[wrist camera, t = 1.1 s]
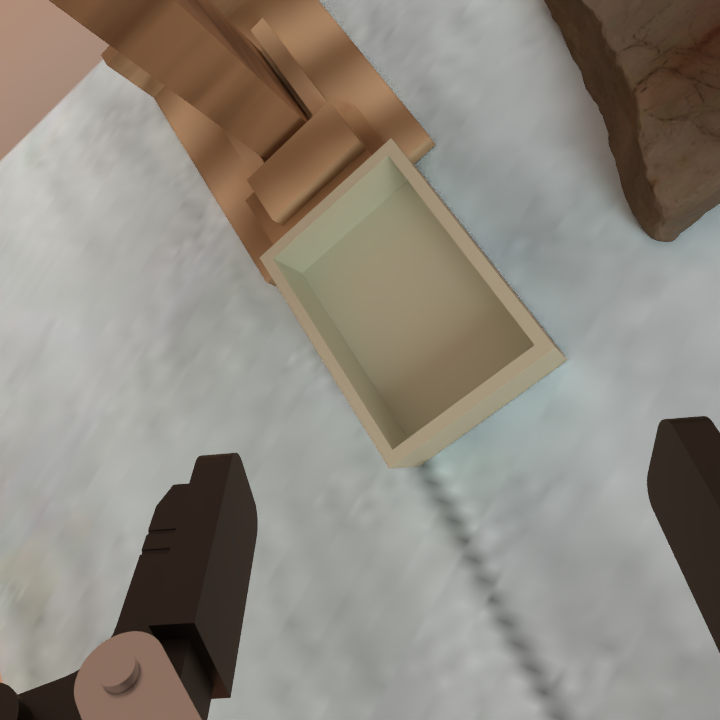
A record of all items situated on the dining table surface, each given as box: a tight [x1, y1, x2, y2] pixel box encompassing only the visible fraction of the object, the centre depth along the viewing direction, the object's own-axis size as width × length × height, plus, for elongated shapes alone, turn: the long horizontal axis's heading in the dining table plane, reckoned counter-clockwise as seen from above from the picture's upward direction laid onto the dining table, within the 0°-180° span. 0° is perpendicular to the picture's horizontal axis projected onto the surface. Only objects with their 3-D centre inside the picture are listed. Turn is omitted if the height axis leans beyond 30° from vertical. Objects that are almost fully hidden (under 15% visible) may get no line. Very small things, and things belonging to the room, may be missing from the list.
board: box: [49, 0, 310, 160], centre depth 31 cm, size 8×3×16 cm, turn 34°
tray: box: [260, 138, 568, 468], centre depth 32 cm, size 13×9×4 cm
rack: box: [102, 0, 436, 286], centre depth 37 cm, size 17×12×5 cm
